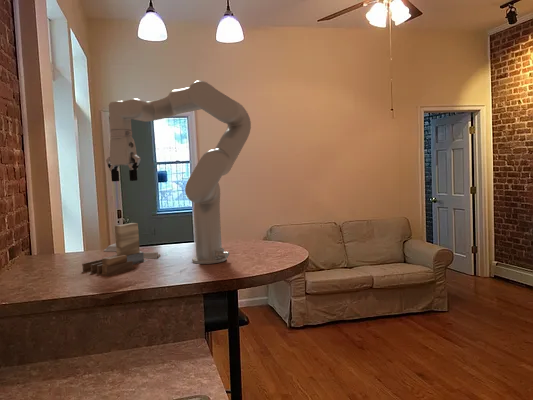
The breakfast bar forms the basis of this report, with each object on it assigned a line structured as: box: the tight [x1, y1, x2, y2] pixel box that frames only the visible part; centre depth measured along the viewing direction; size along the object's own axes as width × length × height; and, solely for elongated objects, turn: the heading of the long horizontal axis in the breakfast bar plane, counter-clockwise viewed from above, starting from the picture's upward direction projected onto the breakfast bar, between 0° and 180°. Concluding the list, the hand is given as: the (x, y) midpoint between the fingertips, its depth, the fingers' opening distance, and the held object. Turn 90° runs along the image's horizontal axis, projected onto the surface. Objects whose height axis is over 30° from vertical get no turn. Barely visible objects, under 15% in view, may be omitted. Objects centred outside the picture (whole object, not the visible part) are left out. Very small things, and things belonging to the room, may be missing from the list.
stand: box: [112, 251, 150, 266], centre depth 169 cm, size 9×11×4 cm
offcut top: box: [101, 254, 127, 267], centre depth 155 cm, size 4×7×2 cm, turn 147°
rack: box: [81, 258, 135, 277], centre depth 157 cm, size 15×11×4 cm
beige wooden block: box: [114, 222, 141, 255], centre depth 168 cm, size 3×8×14 cm, turn 147°
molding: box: [103, 242, 161, 260], centre depth 195 cm, size 42×12×3 cm, turn 39°
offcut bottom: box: [102, 266, 107, 274], centre depth 155 cm, size 4×8×2 cm, turn 147°
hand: (124, 181), depth 173 cm, fingers open, 9 cm apart
